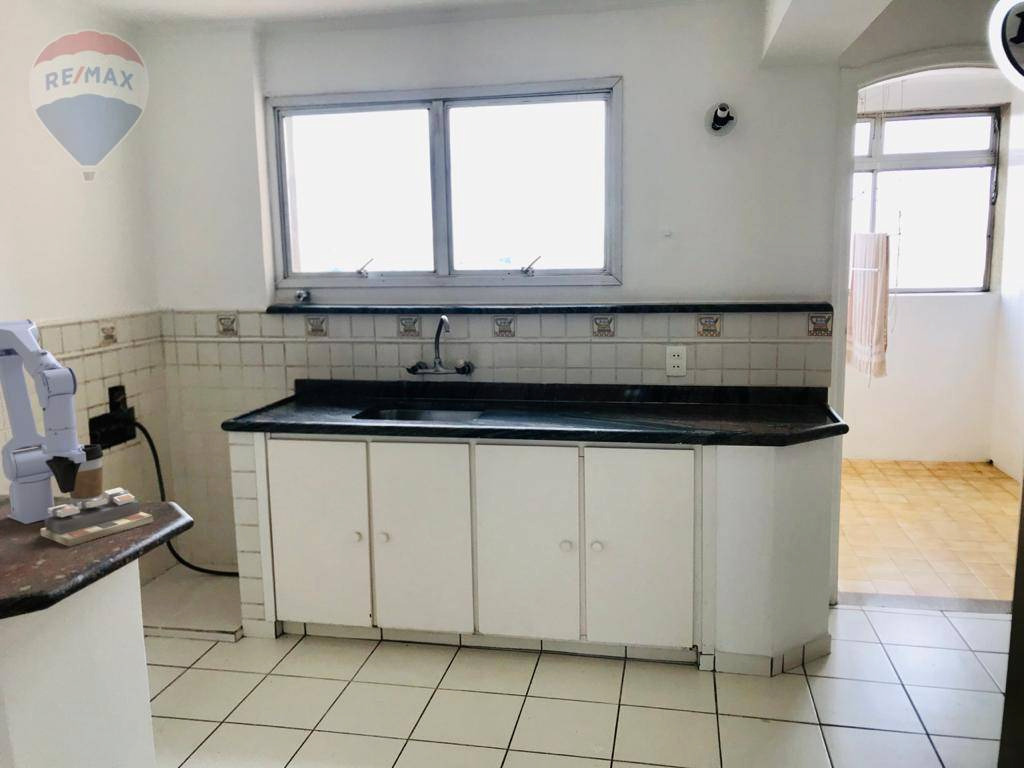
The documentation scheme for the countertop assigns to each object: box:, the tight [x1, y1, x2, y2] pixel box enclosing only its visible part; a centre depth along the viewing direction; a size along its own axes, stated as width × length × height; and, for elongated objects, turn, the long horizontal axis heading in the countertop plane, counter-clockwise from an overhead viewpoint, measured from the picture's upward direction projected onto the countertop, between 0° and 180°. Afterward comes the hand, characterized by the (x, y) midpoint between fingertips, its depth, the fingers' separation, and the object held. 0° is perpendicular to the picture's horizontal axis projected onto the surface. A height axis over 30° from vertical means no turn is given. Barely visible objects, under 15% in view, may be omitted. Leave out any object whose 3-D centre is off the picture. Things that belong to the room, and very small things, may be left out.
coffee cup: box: [69, 443, 104, 509], centre depth 188 cm, size 8×8×15 cm
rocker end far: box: [103, 487, 136, 505], centre depth 181 cm, size 6×4×2 cm, turn 54°
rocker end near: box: [47, 503, 80, 517], centre depth 171 cm, size 6×4×2 cm, turn 54°
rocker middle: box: [77, 496, 109, 510], centre depth 176 cm, size 6×4×2 cm, turn 54°
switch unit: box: [39, 500, 154, 547], centre depth 175 cm, size 12×18×4 cm, turn 144°
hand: (67, 491), depth 170 cm, fingers closed
